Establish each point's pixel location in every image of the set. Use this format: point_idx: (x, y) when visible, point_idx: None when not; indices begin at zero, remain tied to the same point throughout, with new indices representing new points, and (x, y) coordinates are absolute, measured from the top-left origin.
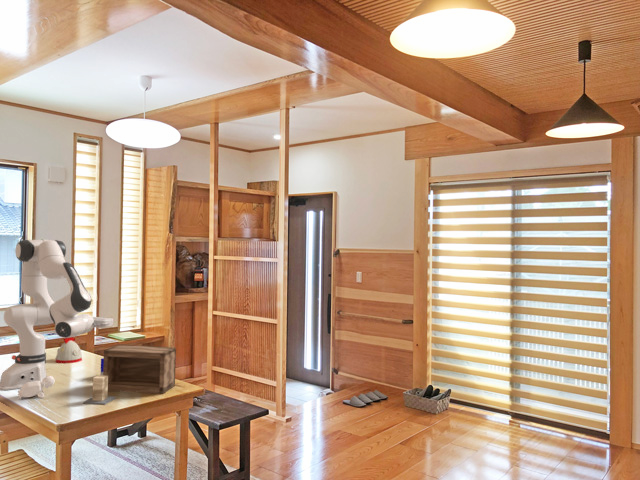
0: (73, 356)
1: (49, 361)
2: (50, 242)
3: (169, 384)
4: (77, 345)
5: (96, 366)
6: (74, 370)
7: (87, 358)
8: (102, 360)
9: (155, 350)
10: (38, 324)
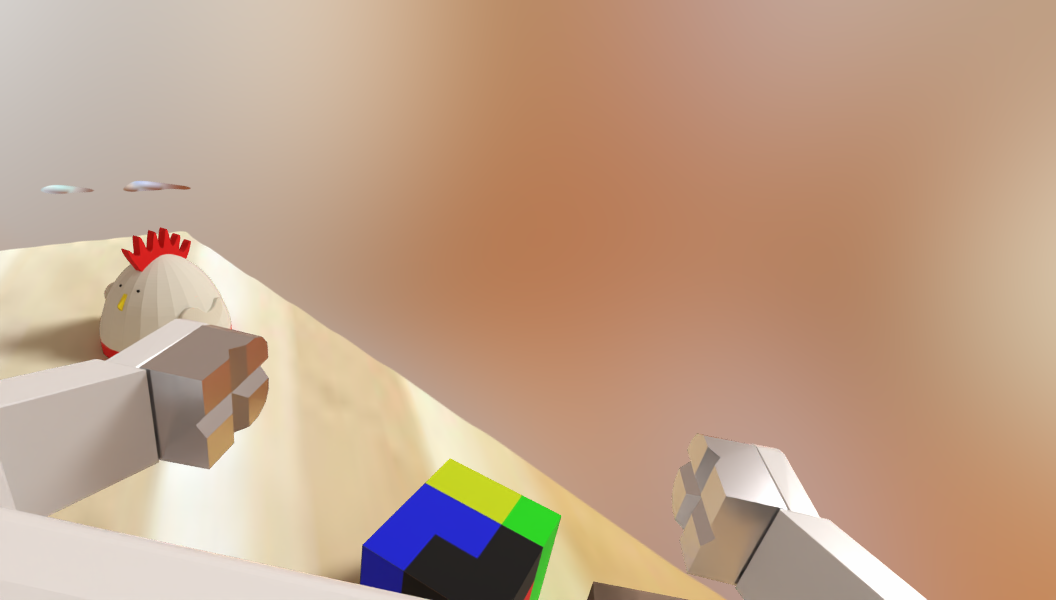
0: None
1: (70, 341)
2: None
3: None
4: (203, 279)
5: (304, 416)
6: (179, 473)
7: (256, 324)
8: (375, 562)
9: None
10: None
